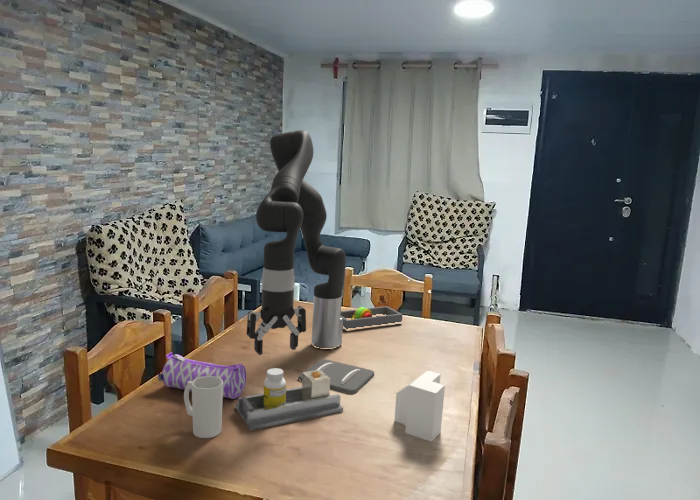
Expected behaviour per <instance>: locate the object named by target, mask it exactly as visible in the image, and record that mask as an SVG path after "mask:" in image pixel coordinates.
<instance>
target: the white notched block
mask: <svg viewBox="0 0 700 500" xmlns="http://www.w3.org/2000/svg"><path fill="white" fill-rule="evenodd" d="M440 382H441V373H438V372H435V371H430V370H427V371H425V372H424V373H422V374H420V375H419V376H418V377H416V378H415V379H413V380H412V381H410V382H409V383H408V384H407V385H405V386H403V387H402V388H401V389H400V390H398V392H396V395H395V406H394V407H395V409H394V422H396V423H398V424H402V425H405V434H407V435H408V434H409V435H411V436H414V437H416V438H419V439H422V440H425V441H428V442H433V441H434V440H435V439H436V438H437V436H438V437H439V435H440V433H441V432H442V421H443V420H442V419H443V412H444V411H443V410H444V399H445V391H446V390H445V388H446V385H445V384H442V383H440Z"/></svg>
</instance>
